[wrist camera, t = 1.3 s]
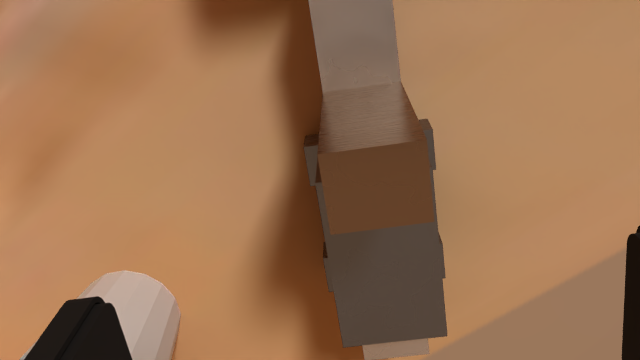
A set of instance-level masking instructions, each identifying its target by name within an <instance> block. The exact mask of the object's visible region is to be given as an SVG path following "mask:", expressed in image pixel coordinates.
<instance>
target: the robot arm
mask: <svg viewBox="0 0 640 360" xmlns="http://www.w3.org/2000/svg"><path fill="white" fill-rule="evenodd" d="M625 277H626V278H625V299H624V321H623V343H622V360H640V226H639V227H638V229H637V231H636V233H635V234H631V235H629V237H628V240H627V254H626V276H625ZM24 360H132V357H131V354H130V351H129V348H128V345H127V342H126V339H125V336H124V333H123V331H122V328H121V325H120V322H119V319H118V316H117V313H116V310H115V308H114V306H113V305H112V304H111V303H105V301H104V300H103V299H102V298H101V297H99V296H96V297H88V298H81V299H73V300H68V301H66V302H65V303H64V304H63V306H62V307H61V308H60V310H59V311H58V313H57V314H56V315H55V317H54V318H53V320H52V321H51V322H50V324H49V325H48V327H47V328H46V329H45V331H44V332H43V334H42V335H41V336H40V338H39V339H38V341H37V342H36V343H35V345H34V346H33V348H32V349H31V350H30V352H29V353H28V355H27V356H26V357H25V359H24Z"/></svg>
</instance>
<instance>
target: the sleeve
mask: <svg viewBox="0 0 640 360" xmlns="http://www.w3.org/2000/svg"><path fill="white" fill-rule="evenodd" d="M418 121H419V123H420V125H421V127H422V130H423V132H424V134H425V136H426V139H427V145H428V156H429V167H430V178H431V189H432V200H433V211H434V222H429V223H421V224H413V225H405V226H397V227H389V228H381V229H374V230H366V231H358V232H350V233H342V234H334V235H331V234H330V228H329V222H328V216H327V210H326V204H325V198H324V192H323V186H322V180H321V174H320V168H319V162H318V156H317V152H318V141H319V134H315V135H308V136H305V142H304V152H305V158H306V163H307V169H308V175H309V180H310V186H316V191H317V197H318V203H319V208H320V214H321V220H322V226H323V232H324V238H325V242H324V250H323V261H324V266H325V272H326V278H327V283H328V289H329V292H332V291H334V296H335V302H336V308H337V313H338V319H339V325H340V331H341V337H342V343H343V348H344V347H353V346H362V345H371V344H380V343H389V342H398V341H407V340H416V339H426V338H435V337H444V336H447V326H446V315H445V304H444V292H443V281H442V278H445V267H444V255H443V244H442V241H441V238H440V235H439V232H438V225H437V214H436V203H435V192H434V180H433V170H436V163H435V152H434V140H433V129H432V127H431V125H430V123H429V121H428V119H422V120H418Z"/></svg>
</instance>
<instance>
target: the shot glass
mask: <svg viewBox="0 0 640 360" xmlns="http://www.w3.org/2000/svg"><path fill="white" fill-rule="evenodd" d="M96 296H99V297H101V298H102V299H103V300H104V301H105V303H111V304H112V305H113V306H114V308H115V310H116V313H117V316H118V319H119V322H120V325H121V328H122V331H123V333H124V336H125V339H126V342H127V345H128V348H129V351H130V354H131V357H132V360H171V359H172V355H173V351H174V347H175V343H176V339H177V335H178V331H179V324H180V316H181V313H180V310H179V307H178V304H177V302H176V299H175V297H174V296H173V295H172V294H171V293H170V291H169V290H168V289H167V288H166V287H165V286H164V285H163V284H162V283H161V282H159V281H157V280H155V279H153V278H151V277H150V276H148V275H146V274H143V273H137V272H131V271H126V270H124V271H118V272H112V273H106V274H105V275H103V276H101V277H100V278H98V279H97V280H95V281H94V282H92V283H91V284H90V285H89V286H88V287H87V288H86V289H85V290H84V291H83V292H82V293H81V294H80V296H79V297H78V298H77V299H81V298H88V297H96ZM37 341H38V340H37ZM37 341H36V342H37ZM36 342H35V343H36ZM35 343H34V344H33V345H32V346H31V347H30V349H29V350H28V351H27V352H26V353H25V354H24V355H23V356H22V357H21V358H20V360H24V359H25V357H26V356H27V355H28V353H29V352H30V350H31V349H32V348H33V346H34V345H35Z"/></svg>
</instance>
